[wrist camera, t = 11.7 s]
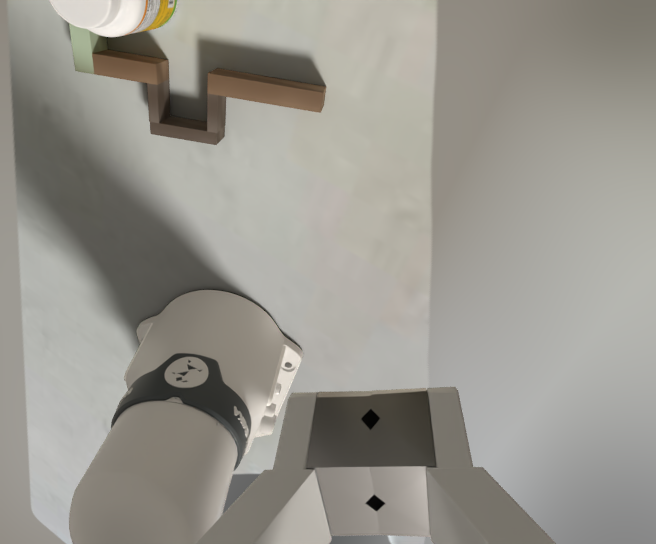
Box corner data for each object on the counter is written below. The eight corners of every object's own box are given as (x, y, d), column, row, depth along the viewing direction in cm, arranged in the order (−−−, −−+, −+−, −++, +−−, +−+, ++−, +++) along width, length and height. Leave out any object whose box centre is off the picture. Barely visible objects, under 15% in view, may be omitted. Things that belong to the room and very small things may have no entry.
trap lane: (317, 152, 41) (314, 161, 39) (97, 114, 41) (82, 122, 39) (354, -128, 31) (353, -136, 29) (63, -177, 31) (40, -189, 29)
